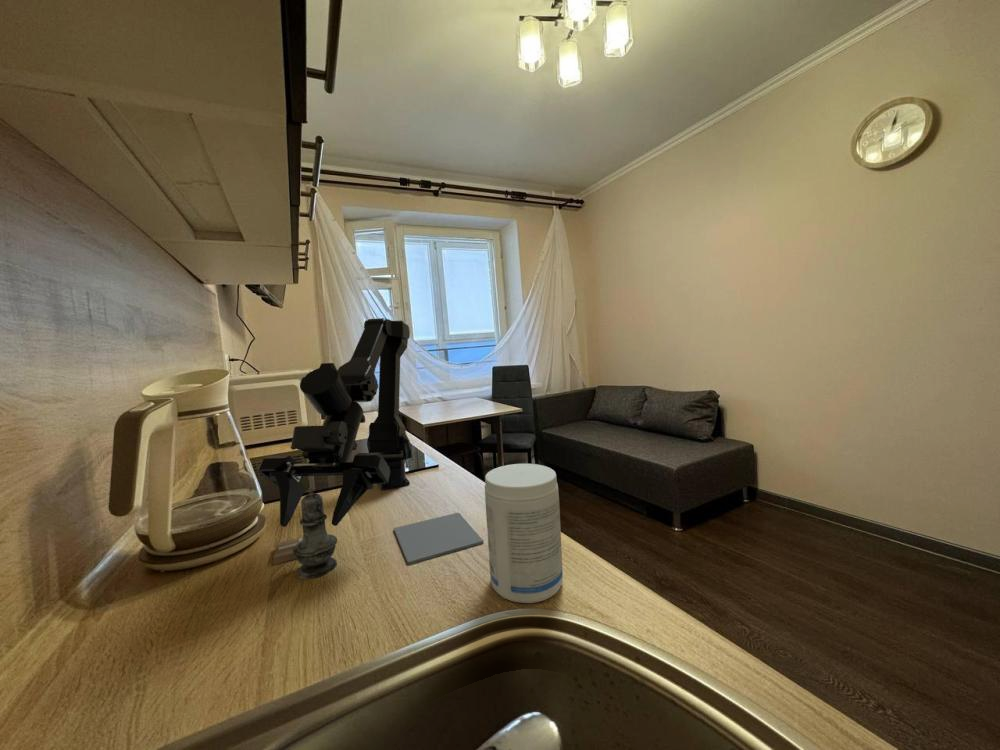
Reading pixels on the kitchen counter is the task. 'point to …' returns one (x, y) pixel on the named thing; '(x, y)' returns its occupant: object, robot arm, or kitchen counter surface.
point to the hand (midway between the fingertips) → (308, 525)
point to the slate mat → (436, 537)
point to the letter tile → (285, 550)
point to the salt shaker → (314, 540)
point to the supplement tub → (524, 532)
